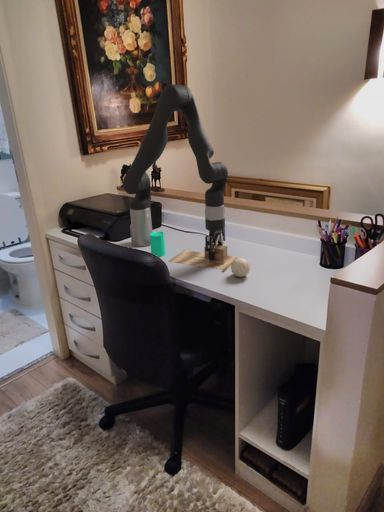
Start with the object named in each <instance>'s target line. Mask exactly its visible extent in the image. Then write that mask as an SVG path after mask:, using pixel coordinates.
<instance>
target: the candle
mask: <svg viewBox="0 0 384 512" xmlns="http://www.w3.org/2000/svg"><path fill="white" fill-rule="evenodd" d="M149 236H150V245H149V247H150V254H151V253H152V254H154V255H157V256H158V257H157V258H160V257H164V256H166V243H165V233H164V231H157V229H156V230H155V231H152V233H151V234H149Z"/></svg>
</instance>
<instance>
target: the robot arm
mask: <svg viewBox="0 0 384 512" xmlns="http://www.w3.org/2000/svg"><path fill="white" fill-rule="evenodd" d="M174 112H177V113H178V112H179V113H181V114H182V115H183V117H184V119H185V121H186V123H187V141H188V144H189V147H190V149H191V151H192V153H193V154H194V157H195V161H196V165H197V171H198V175H199V178H200V179H201V181H202V182H203V183H205V184H211V186H210V187H209V188H208V189H207V190H205V193H204V204H205V205H204V206H205V208H204V222H205V223H204V225H205V229H206V230H207V231H209V233H208V235H205V238H204V239H205V240H204V241H205V246H204V247H205V250H206V251H208V252H209V260H210V261H214V260H215V251H214V250H215V247H216V246H217V245H222V246H224V242H225V241H226V211H225V209H226V208H225V199H224V198H225V190H226V187H227V182H228V176H229V173H228V172H229V171H228V167H227V165H226V164H225V162H222V161H216V162H211V161H210V159H211V158H212V157H213V156H214V155H215V151H214V147H213V146H212V144H211V142H210V140H209V138H208V136H207V133H206V131H205V129H204V126H203V123H202V119H201V117H200V113H199V110H198V107H197V103H196V100H195V98H194V94H193V93H192V90H191V88H190V87H188V86H186V85H182V84H173V83H171V84H167V85H166V86H164V88H163V89H162V91H161V93H160V96H159V98H158V100H157V104H156V108H155V111H154V113H153V116H152V119H151V121H150V123H149V126H148V129H147V131H146V132H145V135H144V137H143V139H142V141H141V144H140V146H139V148H138V151H137V153H136V154H135V157H134V159H133V161H132V163H131V164H130V167H128V170H127V171H126V173H125V174H124V177H123V180H122V186H123V190H124V192H125V193H127V194H129V195H134V197H133V198H132V199H131V200H130V202H129V215H130V222H131V224H129V230H130V239H131V241H130V242H131V245H134V246H135V247H147V246H150V236H149V234H151V233H152V232H153V225H152V224H153V223H152V214H151V213H152V212H151V201H152V187H151V185H152V184H151V179H150V176H149V174H148V173H147V171H148V170H149V169H150V168H151V167H152V166H153V165H154V164H155V163H156V162H157V161H158V160H159V158H160V157H161V156H162V154H163V153H164V151H165V148H166V146H167V144H168V141H169V140H168V128H167V127H168V122H169V120H170V119H171V116H172V114H173V113H174Z"/></svg>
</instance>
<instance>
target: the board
mask: <svg viewBox="0 0 384 512" xmlns="http://www.w3.org/2000/svg"><path fill="white" fill-rule="evenodd" d="M235 259H237V256H235V255H227V261H226V262H225V263H224V264H220V263H212V262H205V252H202V251H193V250H185V249H184V250H182V251H181V252H180V253H177V255H175V256H173V258H171V259H170V260H168V263H175V264H181V265H188V266H194V267H195V266H196V267H203V268H208V269H209V268H210V269H216V270H217V269H218V270H222V271H221V273H225V272H226V271H228V269H229V268H231V264H232V262H233V261H234V260H235Z"/></svg>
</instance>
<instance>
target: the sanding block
mask: <svg viewBox="0 0 384 512" xmlns="http://www.w3.org/2000/svg"><path fill="white" fill-rule="evenodd" d="M203 250H204V253H205V262H212V263H220V264H224V263H225V262H226V261H227V256H228V246H227V245H223V246H222V245H217V246H216V247H215V250H214V251H215V260H214V261H210V260H209V252H208V251H206V250H205V246H204V249H203Z"/></svg>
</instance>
